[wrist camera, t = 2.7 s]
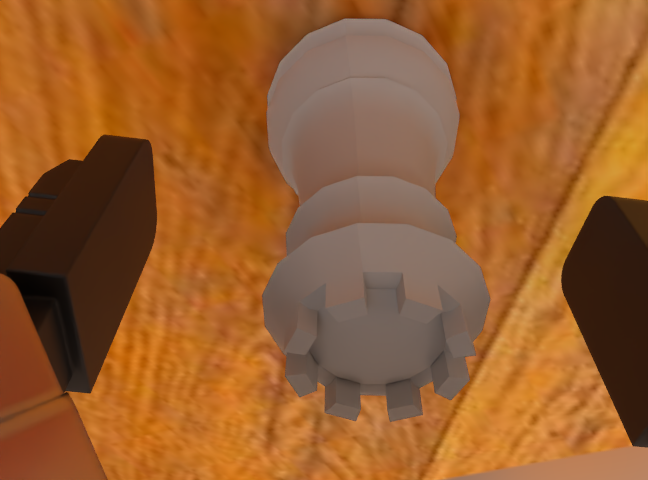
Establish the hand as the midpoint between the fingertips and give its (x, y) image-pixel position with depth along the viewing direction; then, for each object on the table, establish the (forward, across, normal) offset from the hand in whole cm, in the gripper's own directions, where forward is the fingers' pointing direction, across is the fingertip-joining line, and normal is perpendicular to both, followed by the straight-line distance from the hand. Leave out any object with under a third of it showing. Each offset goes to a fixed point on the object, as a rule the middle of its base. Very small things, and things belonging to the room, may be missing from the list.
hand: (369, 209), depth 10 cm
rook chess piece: (+4, 0, 0) cm, 5 cm away
